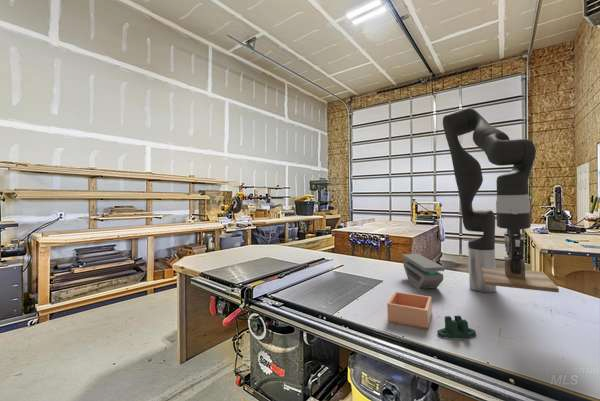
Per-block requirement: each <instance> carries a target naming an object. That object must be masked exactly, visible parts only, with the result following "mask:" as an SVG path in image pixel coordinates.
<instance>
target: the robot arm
mask: <svg viewBox="0 0 600 401" xmlns="http://www.w3.org/2000/svg"><path fill="white" fill-rule="evenodd" d="M442 127H443V131H444V135H445V139H446V142H447V145H448V149H449V152H450V156H451V162H452V167H453V173H454V177H455V178H454V179H455V183H456V187H457V190H458V195H459V202H460V209H461V219H462V225H463V227H464V230H466V231H468V232H476V233H482V236H480V237H479V238H474V239H470V240H469V241H468V242H467V248H468V252H467V253H468V254H467V255H468V275H469V278H468V279H469V280H468V282H469V289H471V290H473V291H475V292H481V293H494V292H497V286H493V285H485V283H484V279H483V274H482V269H481V267H490V268H496V254H495V253H496V250H495V249H496V248H495V247H496V245H495V244H496V227H498V228H499V229H506V232H505V233H503V238H504V246H505V251H506V256H507V257H509V258H510V263H511V273H513V274H521V261H522V260H524V245H525V244H524V243H525V239H524V237H525V236H524V235H522V233H521V230H527V229H530V228H531V226H532V224H531V223H532V222H531V201H530V196H529V178H530V174H531V172H532V168H533V165H534V163H535V162H534V161H535V158H536V154H537V148H536V146H535V144H534V143H533V141H532V140H530V139H528V138H518V139H510V138H509V135H508V134H507V133H506V132H504V131H502V130H500V129H498V128H496V127H494V126H493V125H491V124H490V123H489V122H488V121H487V120H486V119H485V118H484V117H483V116H482V115H481V114H480V113H479V111H477V110H476V109H474V108H472V107H466V108H462V109H459V110H457V111H453V112H450V113H447V114H445V115H444V116H443V118H442ZM472 132H473V133H472ZM468 133H472V141H473V142H474V144H475V146H477V147H478V148H480V149H481V150H482V151H483V152H484V153H485V155H486V157H487V160H488V162H489V163H490V164H492V165H494V166H504V167H505V166H512V168H511V170H510V171H509V172H507V173H503V174H501V175H498V176H497V178H496V200H495V201H496V203H495V207H496V208H495V209H496V210H495V211H496V212H495V213H494V211H493V210H491V209H490V210H489V209H474V208H473V202H474V198H475V196H476V195H477V193H478V191H479V190H480V188H481V186H482V184H483V182H484V178H483V172H482V167H481V163H480V162H479V161H478V160H477V159H476V158H475V156H473V155H471V153H469V152H467V150H466V149H465V148H464V147H463V146H462V144H461V143H460V140H459V137H460V136H463V135H465V134H466V135H467V134H468ZM495 214H496V215H495Z"/></svg>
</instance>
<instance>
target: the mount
mask: <svg viewBox="0 0 600 401" xmlns="http://www.w3.org/2000/svg"><path fill="white" fill-rule="evenodd" d="M437 334H438V335H439V336H438V335H437ZM437 334H436V335H437V336H438V337H440V336H441V337H440V338H443V337H448V338H447V339H450V338H462V339H470V338H473V337H475V335H477V332H476V330H475V329H473V328H469V322H468V321H467V320H466V319H462V316H461V315H454V319H453V318H452V317H451V316H450V315H446V316H444V328H441V329H437Z"/></svg>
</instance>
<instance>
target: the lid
mask: <svg viewBox="0 0 600 401" xmlns="http://www.w3.org/2000/svg"><path fill="white" fill-rule="evenodd" d="M481 269H482V274H483V279H484V283H485V285H493V286H496V287H502V288H503V287H505V288H514V289H522V290H532V291H539V292H540V291H541V292H551V293H558V294H559V293H560V292H559V291H560V289H559V287H558V286H557V285H556V284H555V283H554V281H552V279H550V277H548V275H547V274H546V273H545V272H544V271H536V270H526V262H525V260H524V259H523V260H522V261H521V274H513V273H511V263H510V258H509V257H508V256H504V268H501V267H500V268H499V267H495V268H490V267H481Z"/></svg>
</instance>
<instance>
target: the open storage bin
mask: <svg viewBox="0 0 600 401" xmlns="http://www.w3.org/2000/svg"><path fill="white" fill-rule="evenodd" d="M432 302H433V300H432V296H429V295H423V294H422V295H421V294H414V293H407V292H403V291H401V292H400V291H394V293H393V294H392V296H391V297H390V298H389V300H388V302H387V303H386V306H387V322H388V321H389V322H388V323H392V322H394V323H393V324H397V323H399V324H398V325H402V324H404V325H403V326H407V325H409V326H408V327H411V326H413V327H412V328H416V327H418V328H417V329H421V328H422V330H426V329H428V330H429V327H430V323H431V319H432V315H433V304H432Z"/></svg>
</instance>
